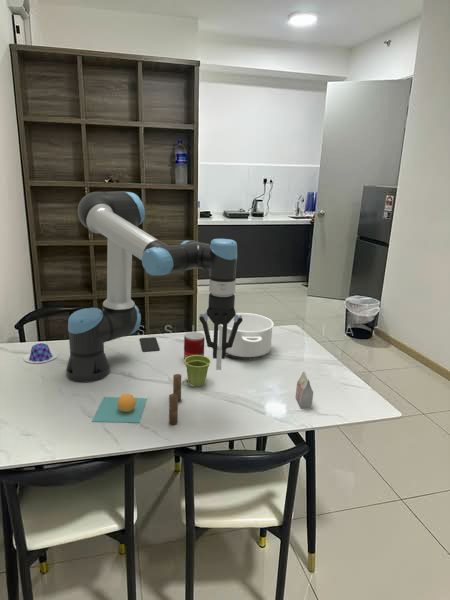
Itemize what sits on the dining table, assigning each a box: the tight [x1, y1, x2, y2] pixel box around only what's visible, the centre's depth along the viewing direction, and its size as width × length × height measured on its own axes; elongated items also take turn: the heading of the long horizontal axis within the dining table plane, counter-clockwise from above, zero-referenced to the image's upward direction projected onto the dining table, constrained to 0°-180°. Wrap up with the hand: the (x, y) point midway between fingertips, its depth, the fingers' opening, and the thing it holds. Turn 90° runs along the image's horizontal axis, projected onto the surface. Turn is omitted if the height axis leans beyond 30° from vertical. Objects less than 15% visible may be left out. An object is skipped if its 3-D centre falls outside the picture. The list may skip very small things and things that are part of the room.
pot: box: [218, 312, 275, 360], centre depth 175 cm, size 33×23×14 cm
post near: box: [168, 393, 179, 426], centre depth 122 cm, size 3×3×9 cm
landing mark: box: [91, 396, 147, 424], centre depth 129 cm, size 14×14×1 cm
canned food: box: [183, 331, 206, 361], centre depth 164 cm, size 8×8×11 cm
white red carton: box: [295, 371, 314, 410], centre depth 137 cm, size 4×7×10 cm, turn 4°
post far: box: [172, 373, 182, 404], centre depth 135 cm, size 3×3×9 cm
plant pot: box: [183, 355, 212, 387], centre depth 147 cm, size 9×9×9 cm
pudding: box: [23, 342, 58, 364], centre depth 162 cm, size 12×12×5 cm
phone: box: [139, 336, 161, 353], centre depth 179 cm, size 7×1×15 cm
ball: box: [118, 393, 136, 412], centre depth 128 cm, size 6×6×6 cm
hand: (218, 367), depth 126 cm, fingers closed
